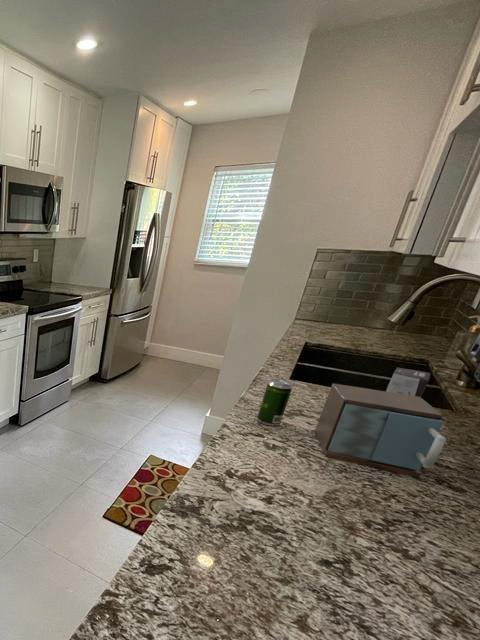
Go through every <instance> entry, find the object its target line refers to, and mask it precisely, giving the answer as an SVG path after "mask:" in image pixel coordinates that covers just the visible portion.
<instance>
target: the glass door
mask: <svg viewBox="0 0 480 640" xmlns="http://www.w3.org/2000/svg"><path fill="white" fill-rule="evenodd" d="M443 424H444V421H443V420H442V419H441V420H435V419H429V418H423V417H417V416H411V415H406V414H400V413H394V412H390V415H389V417H388V419H387V421H386V424H385V426H384V428H383V431H382V433H381V435H380V438H379V440H378V442H377V444H376V447H375V449H374V451H373V454H372V456H371V458H370V459H371V460H372V461H377V462H382V463H386V464H391V465H396V466H400V467H405V468H410V469H414V470H418V471H420V470H421V469H422V467H424V468H425V469H432V468H433V467H434V466H435V463H436V461H437V459H438V457H439V455H440V453H441V451H442V449H443V447H444V445H445V443H446V441H447V438H446V436H443V435H442V434H440V433H439V431H440V429H441V427H442V425H443Z"/></svg>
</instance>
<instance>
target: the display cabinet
mask: <svg viewBox="0 0 480 640" xmlns="http://www.w3.org/2000/svg"><path fill="white" fill-rule="evenodd" d="M390 412H394V413H400V414H406V415H411V416H417V417H423V418H429V419H435V420H441V421H442V419H443V417H444V415H443V414H442V413H441V412H439V411H438V410H437V409H436V408H435V407H433V406H432V405H430V404H429V403H428V402H427V401H426V400H425V399H423V398H422V396H421V397H418V396H411V395H405V394H398V393H392V392H386V390H378V389H372V388H365V387H359V386H353V385H345V384H340V383H332V384H331V386H330V389H329V391H328V394H327V397H326V400H325V402H324V405H323V408H322V411H321V413H320V416H319V418H318V421H317V424H316V427H315V429H314V432H313V433H314V435H315V439H316V440H317V442H318V444H319V446H320V448H321V450H322V452H323V454H324V456H325V457H326V458H330V459H334V460H335V459H336V460H339V461H342V462H343V461H344V462H349V463H354V464H356V465H363V466H367V467H370V468H371V467H372V468H375V469H381V470H384V471H389V472H394V473H399V474H403V475H408V476H413V477H417V478H419V477H421V476H420V475H421V472H420V470H414V469H410V468H405V467H400V466H396V465H391V464H386V463H382V462H377V461H372V460H371V459H370V458H371V456H372V454H373V451H374V449H375V447H376V444H377V442H378V440H379V438H380V435H381V433H382V431H383V428H384V426H385V424H386V421H387V419H388V417H389V415H390Z"/></svg>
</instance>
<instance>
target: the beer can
mask: <svg viewBox="0 0 480 640" xmlns="http://www.w3.org/2000/svg"><path fill="white" fill-rule="evenodd" d="M292 391H293V382H291V381H289V380H286V379H283V378H270V379H269V381H268V382H267V384H266V387H265V390H264V394H263V397H262V400H261V402H260V403H261V404H260V406H259V410H258V413H257V421H258V422H259V423H260V424H263V425H265V426H269V427H278V426H279V425H280V424H281V423H282V420H283V417H284V414H285V411H286V409H287V406H288V402H289V399H290V396H291V393H292Z"/></svg>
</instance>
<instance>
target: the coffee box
mask: <svg viewBox="0 0 480 640" xmlns="http://www.w3.org/2000/svg"><path fill="white" fill-rule="evenodd" d="M430 376H431V372H427V371H422V370H416V369H415V370H414V369H408V368H402V367H396V369H395V370H394V372H393V373H392V376H391V378H390V380H389V383H388V385H387V387H386V390H385V392H392V393H398V394H405V395H411V396H418V397H421V398H422V396H423V394H424V392H425V390H426V387H427V385H428V383H429V381H430V378H431V377H430Z"/></svg>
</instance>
